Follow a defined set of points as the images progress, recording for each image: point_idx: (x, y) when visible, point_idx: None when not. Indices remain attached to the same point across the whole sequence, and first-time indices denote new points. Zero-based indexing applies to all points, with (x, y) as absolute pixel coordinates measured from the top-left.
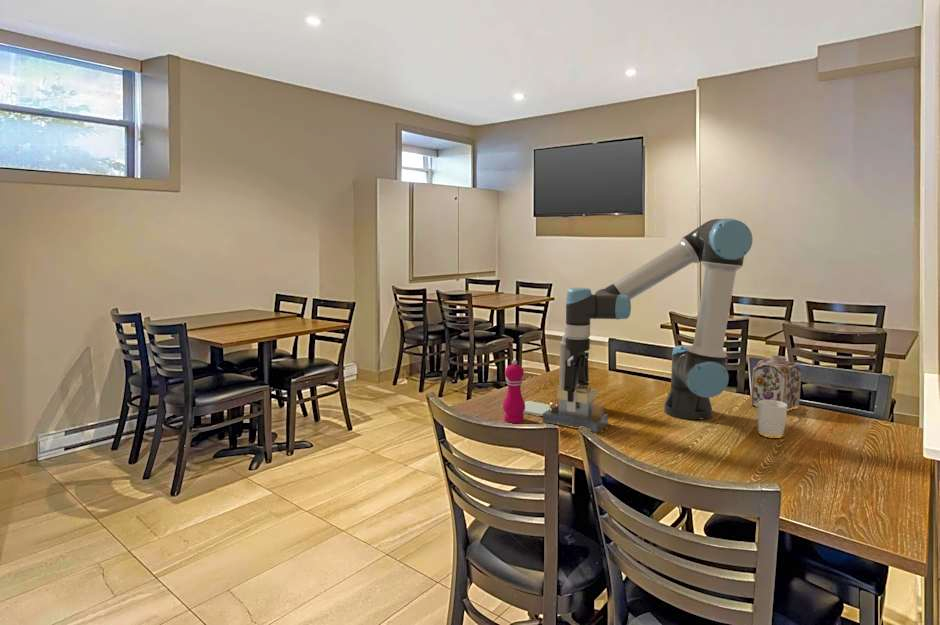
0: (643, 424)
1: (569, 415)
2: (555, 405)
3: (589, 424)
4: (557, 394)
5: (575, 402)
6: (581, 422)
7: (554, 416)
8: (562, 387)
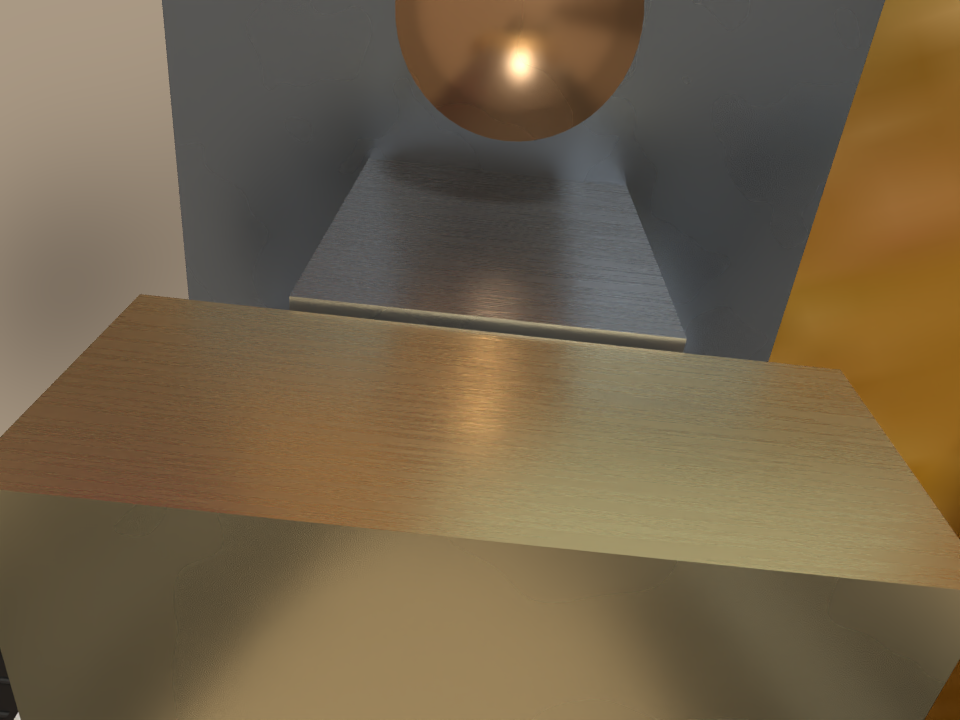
0: None
1: None
2: (423, 86)
3: None
4: (67, 369)
5: None
6: None
7: (184, 126)
8: (400, 577)
